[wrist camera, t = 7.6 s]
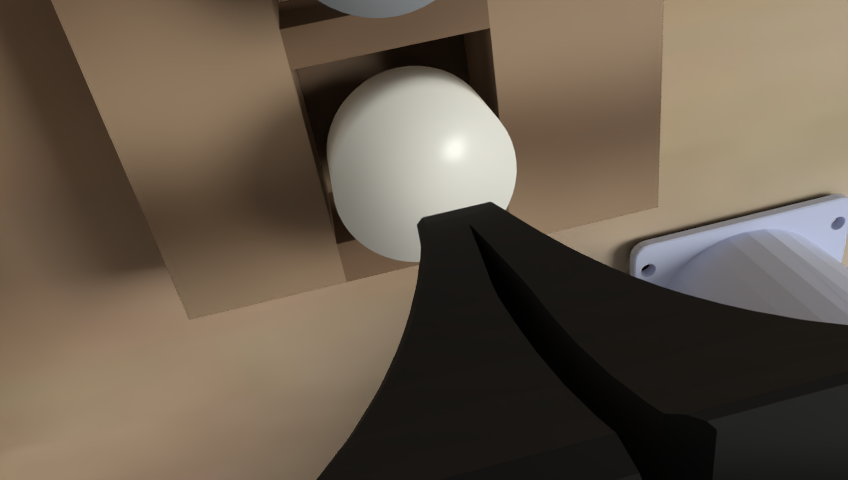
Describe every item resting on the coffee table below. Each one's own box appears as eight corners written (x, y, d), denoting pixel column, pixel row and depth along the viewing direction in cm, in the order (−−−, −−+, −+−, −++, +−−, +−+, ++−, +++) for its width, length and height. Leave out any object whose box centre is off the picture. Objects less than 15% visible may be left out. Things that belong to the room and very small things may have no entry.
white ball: (480, 172, 19) (523, 239, 16) (340, 204, 19) (354, 279, 15) (462, 28, 17) (508, 71, 14) (304, 62, 16) (312, 114, 13)
